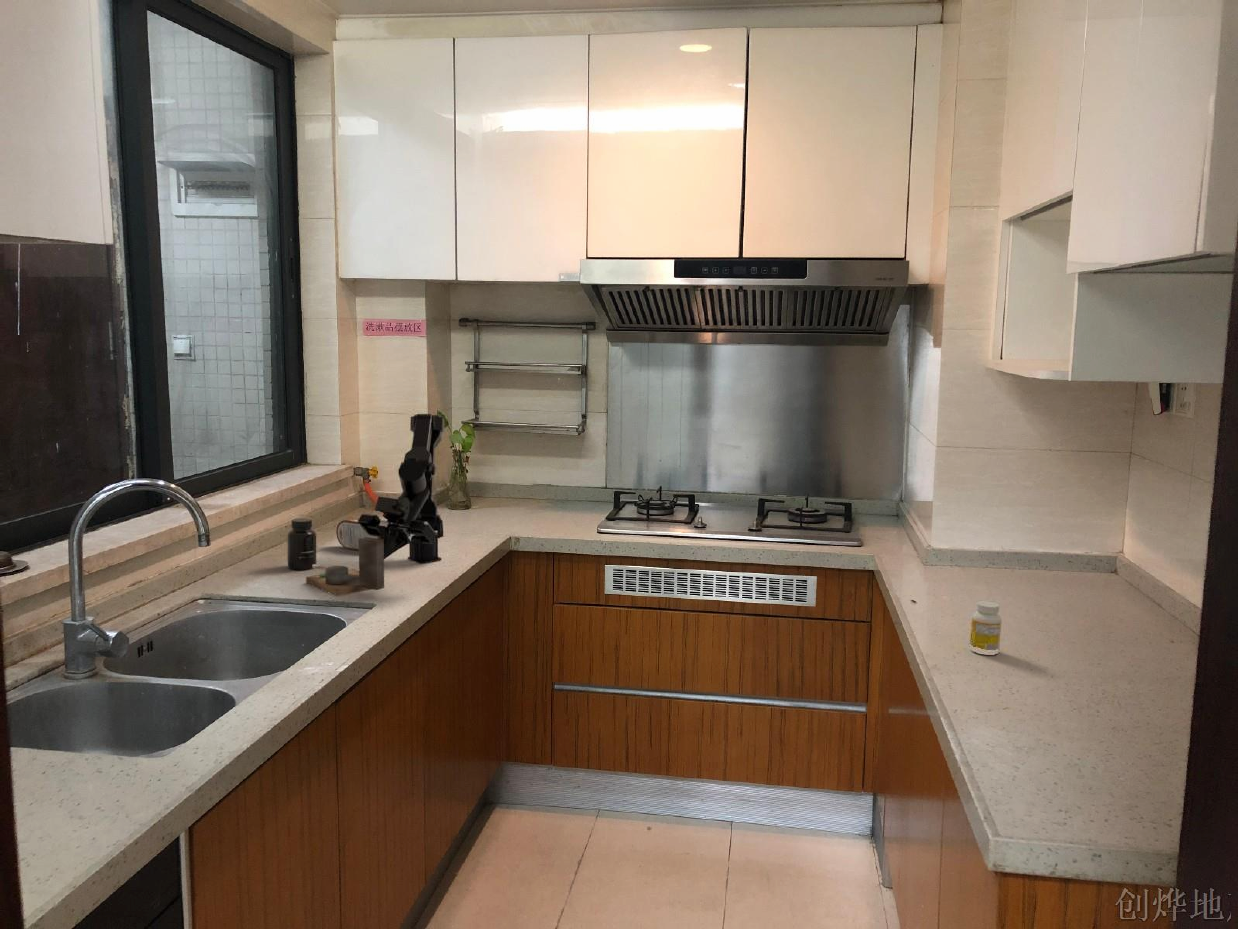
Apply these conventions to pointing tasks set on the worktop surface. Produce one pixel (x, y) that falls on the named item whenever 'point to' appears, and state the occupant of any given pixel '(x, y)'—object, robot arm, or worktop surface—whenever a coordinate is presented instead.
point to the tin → (351, 533)
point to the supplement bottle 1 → (301, 545)
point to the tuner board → (335, 589)
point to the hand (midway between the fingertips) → (380, 559)
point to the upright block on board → (361, 566)
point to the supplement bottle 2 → (986, 626)
